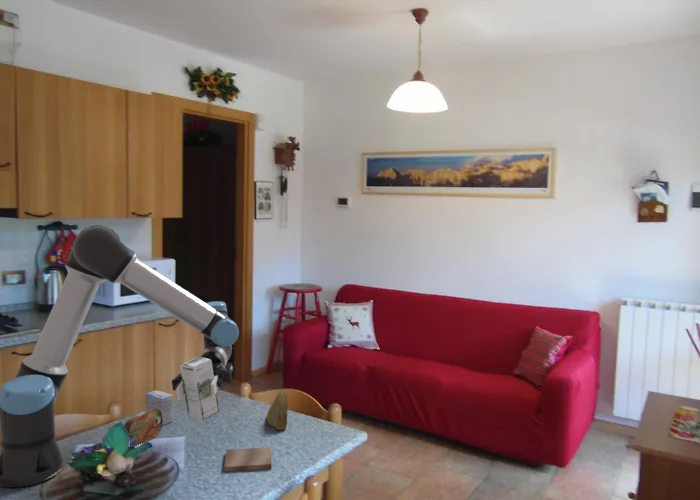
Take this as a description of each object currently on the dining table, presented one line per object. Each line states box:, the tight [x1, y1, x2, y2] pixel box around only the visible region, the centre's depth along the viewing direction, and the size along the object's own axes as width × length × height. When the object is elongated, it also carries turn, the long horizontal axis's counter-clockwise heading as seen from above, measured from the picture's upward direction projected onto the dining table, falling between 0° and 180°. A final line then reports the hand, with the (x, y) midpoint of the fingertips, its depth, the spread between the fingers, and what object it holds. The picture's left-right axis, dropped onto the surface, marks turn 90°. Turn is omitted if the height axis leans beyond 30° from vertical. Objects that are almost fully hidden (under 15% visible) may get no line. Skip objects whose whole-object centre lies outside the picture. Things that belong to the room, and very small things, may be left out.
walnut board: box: [223, 446, 272, 472], centre depth 148 cm, size 12×10×1 cm
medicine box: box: [145, 390, 174, 426], centre depth 173 cm, size 8×4×9 cm, turn 58°
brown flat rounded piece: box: [123, 408, 163, 447], centre depth 158 cm, size 15×3×8 cm, turn 163°
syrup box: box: [179, 356, 220, 421], centre depth 142 cm, size 6×6×14 cm
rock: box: [265, 390, 288, 431], centre depth 172 cm, size 11×9×10 cm
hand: (195, 391), depth 137 cm, fingers closed on syrup box, 8 cm apart
